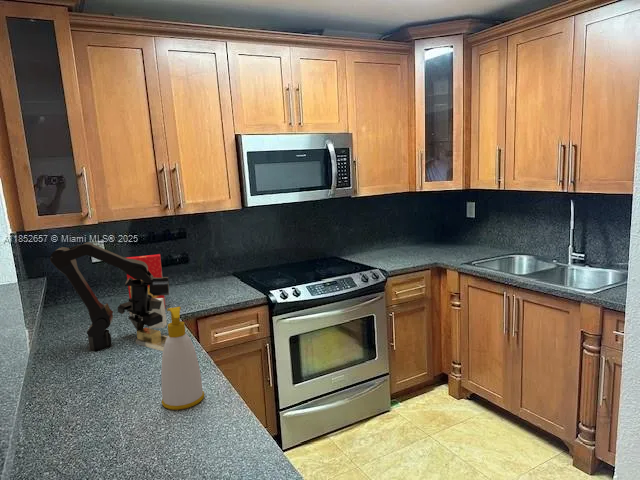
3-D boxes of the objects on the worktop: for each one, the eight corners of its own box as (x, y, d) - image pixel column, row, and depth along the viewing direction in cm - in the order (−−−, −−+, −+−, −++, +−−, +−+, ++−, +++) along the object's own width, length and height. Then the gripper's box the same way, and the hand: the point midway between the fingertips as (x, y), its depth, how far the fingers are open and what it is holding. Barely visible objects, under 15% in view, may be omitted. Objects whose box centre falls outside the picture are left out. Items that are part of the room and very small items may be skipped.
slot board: (136, 345, 161) (135, 340, 160) (154, 337, 167) (154, 332, 167) (164, 353, 152) (164, 347, 152) (183, 345, 159) (182, 339, 159)
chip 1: (144, 343, 161) (143, 332, 161) (137, 341, 163) (136, 330, 163) (153, 339, 165) (152, 329, 164) (146, 337, 167) (145, 327, 166)
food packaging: (131, 313, 200) (125, 259, 196) (132, 309, 205) (126, 257, 201) (165, 308, 205) (159, 256, 201) (165, 305, 210) (160, 254, 206)
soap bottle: (163, 415, 112) (152, 317, 108) (160, 395, 123) (150, 305, 119) (208, 404, 117) (199, 309, 113) (201, 386, 127) (193, 298, 123)
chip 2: (152, 345, 159) (151, 334, 158) (145, 343, 161) (143, 332, 160) (161, 341, 162) (160, 330, 162) (154, 339, 164) (153, 329, 164)
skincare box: (167, 325, 181) (164, 297, 179) (163, 329, 176) (160, 300, 174) (152, 326, 181) (149, 297, 179) (148, 330, 176) (145, 301, 175)
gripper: (174, 296, 163) (174, 334, 168) (141, 283, 172) (142, 319, 177) (149, 305, 154) (149, 345, 158) (116, 291, 163) (117, 329, 167)
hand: (140, 334), depth 165 cm, fingers closed
